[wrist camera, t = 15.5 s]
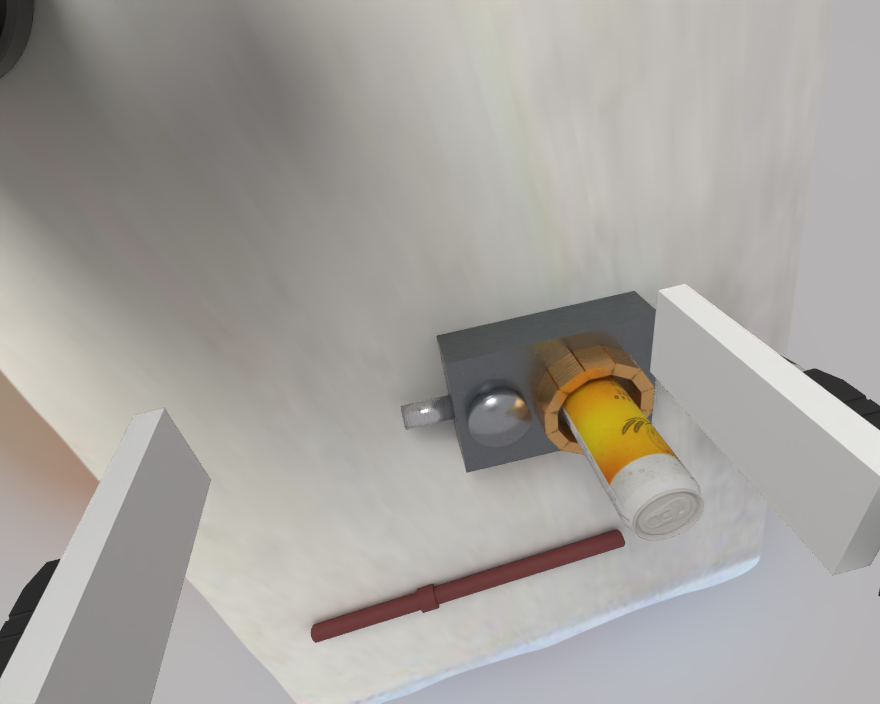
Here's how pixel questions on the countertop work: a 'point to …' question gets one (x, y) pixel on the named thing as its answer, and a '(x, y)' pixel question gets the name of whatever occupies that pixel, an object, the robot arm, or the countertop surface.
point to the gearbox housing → (537, 376)
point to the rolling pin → (466, 586)
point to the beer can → (632, 460)
